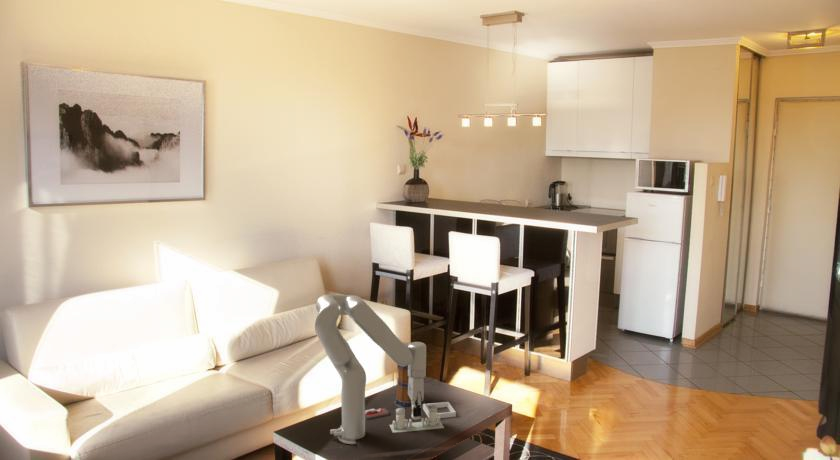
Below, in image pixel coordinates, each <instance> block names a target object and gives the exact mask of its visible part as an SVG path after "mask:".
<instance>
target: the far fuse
mask: <svg viewBox="0 0 840 460" xmlns="http://www.w3.org/2000/svg"><path fill="white" fill-rule="evenodd" d="M428 411H429V418H428V425H429V426H431V427H435V426H437V413H438V408H437V406H436V405H430V406H428Z"/></svg>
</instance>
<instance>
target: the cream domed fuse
mask: <svg viewBox="0 0 840 460" xmlns="http://www.w3.org/2000/svg"><path fill="white" fill-rule="evenodd" d="M405 419H406V408H401V407H397V408H395V424H396V429H398V430H403V429H405Z"/></svg>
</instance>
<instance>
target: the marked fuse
mask: <svg viewBox="0 0 840 460" xmlns="http://www.w3.org/2000/svg"><path fill="white" fill-rule="evenodd" d="M416 400H417V399H416ZM416 403H417V402H416ZM413 407H414V402H413V401H412V412H411V414H410V415H411V418H410V419H411V420H414V421H418V420H420V419H421V416H418V417H414V416H413Z"/></svg>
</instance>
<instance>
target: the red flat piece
mask: <svg viewBox="0 0 840 460" xmlns="http://www.w3.org/2000/svg"><path fill="white" fill-rule="evenodd" d="M387 416H390V411H389V410H388V409H386V408H385V407H383V408H380V407H379V408H378V409H375V408H370V409H365V421H367V420H372V419H376V418H377V419H378V418H382V417H387Z"/></svg>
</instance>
